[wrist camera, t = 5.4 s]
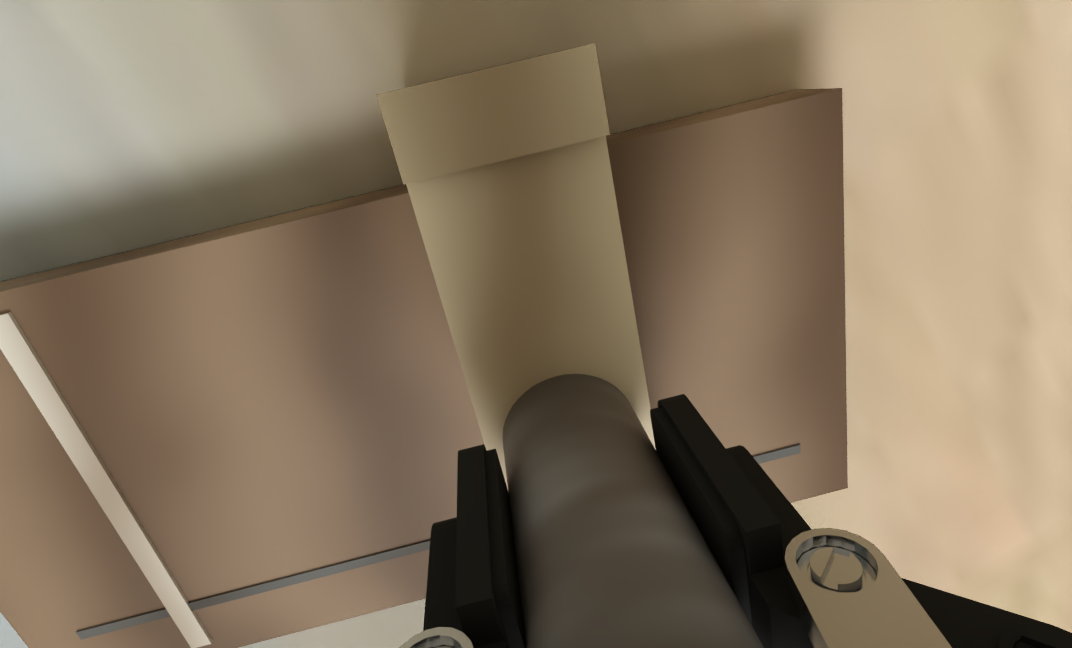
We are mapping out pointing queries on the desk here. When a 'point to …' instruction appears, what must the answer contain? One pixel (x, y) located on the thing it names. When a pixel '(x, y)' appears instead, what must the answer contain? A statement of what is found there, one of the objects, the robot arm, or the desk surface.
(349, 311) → the walnut board
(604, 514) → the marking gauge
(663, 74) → the desk surface
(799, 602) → the robot arm
